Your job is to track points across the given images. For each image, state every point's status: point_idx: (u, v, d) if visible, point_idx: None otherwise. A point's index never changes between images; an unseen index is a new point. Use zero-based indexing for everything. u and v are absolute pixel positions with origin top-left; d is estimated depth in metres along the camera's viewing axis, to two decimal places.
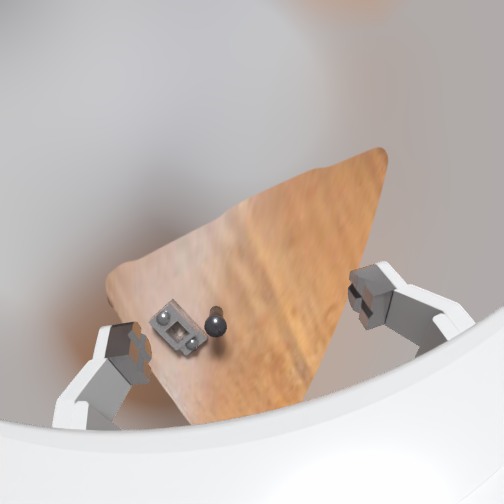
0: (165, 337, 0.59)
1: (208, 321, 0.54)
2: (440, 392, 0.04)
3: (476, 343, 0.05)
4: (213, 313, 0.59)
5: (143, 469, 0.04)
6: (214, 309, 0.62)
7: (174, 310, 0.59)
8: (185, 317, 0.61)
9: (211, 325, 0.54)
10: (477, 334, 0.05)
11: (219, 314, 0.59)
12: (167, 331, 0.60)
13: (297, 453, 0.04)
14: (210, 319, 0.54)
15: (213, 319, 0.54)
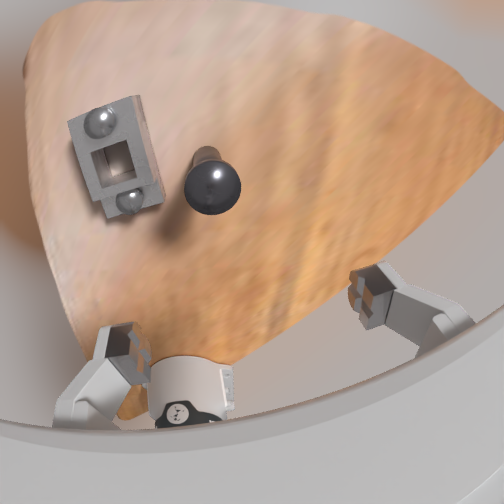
0: (84, 166, 0.23)
1: (204, 168, 0.20)
2: (440, 392, 0.04)
3: (476, 343, 0.05)
4: (212, 157, 0.24)
5: (143, 469, 0.04)
6: (212, 151, 0.27)
7: (132, 114, 0.22)
8: (145, 140, 0.25)
9: (205, 181, 0.21)
10: (477, 334, 0.05)
11: None
12: (94, 155, 0.24)
13: (297, 453, 0.04)
14: (212, 166, 0.20)
15: (218, 169, 0.20)
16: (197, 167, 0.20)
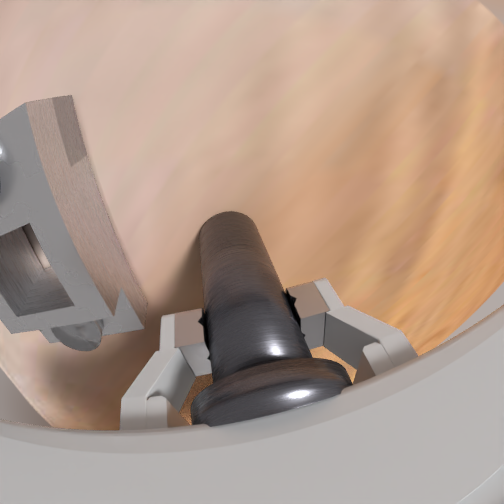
0: None
1: (263, 414, 0.05)
2: (440, 392, 0.04)
3: (476, 343, 0.05)
4: (258, 282, 0.09)
5: (143, 469, 0.04)
6: (247, 238, 0.11)
7: (31, 155, 0.06)
8: (79, 214, 0.09)
9: None
10: (477, 334, 0.05)
11: (288, 302, 0.09)
12: None
13: (297, 453, 0.04)
14: (291, 406, 0.05)
15: None
16: (237, 415, 0.05)
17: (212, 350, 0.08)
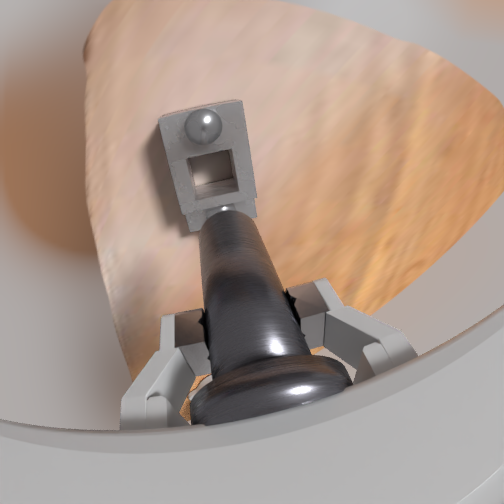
0: (176, 173, 0.23)
1: (262, 411, 0.05)
2: (440, 392, 0.04)
3: (476, 343, 0.05)
4: (257, 280, 0.09)
5: (143, 469, 0.04)
6: (246, 237, 0.12)
7: (241, 121, 0.22)
8: None
9: None
10: (477, 334, 0.05)
11: (287, 300, 0.09)
12: (186, 161, 0.23)
13: (297, 453, 0.04)
14: (290, 403, 0.05)
15: None
16: (236, 412, 0.05)
17: (211, 348, 0.08)
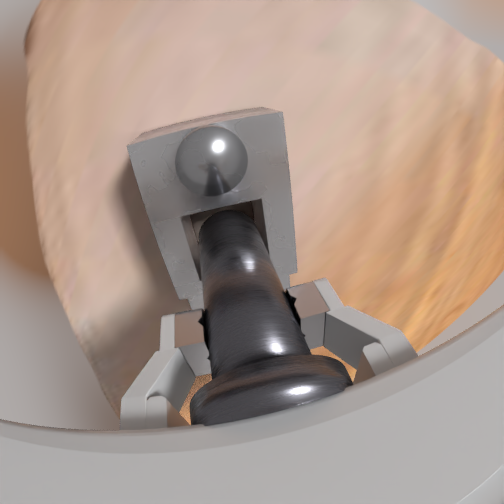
0: (166, 240, 0.14)
1: (262, 411, 0.05)
2: (440, 392, 0.04)
3: (476, 343, 0.05)
4: (257, 279, 0.09)
5: (143, 469, 0.04)
6: (246, 236, 0.11)
7: (280, 150, 0.12)
8: None
9: None
10: (477, 334, 0.05)
11: (287, 299, 0.09)
12: (183, 217, 0.14)
13: (297, 453, 0.04)
14: (290, 403, 0.05)
15: None
16: (236, 412, 0.05)
17: (211, 347, 0.08)
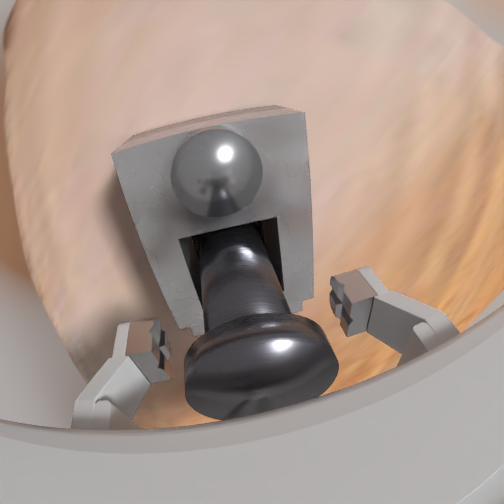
0: (162, 266, 0.11)
1: (245, 359, 0.06)
2: (440, 392, 0.04)
3: (476, 343, 0.05)
4: (248, 256, 0.10)
5: (143, 469, 0.04)
6: None
7: (301, 159, 0.10)
8: None
9: (246, 381, 0.07)
10: (477, 334, 0.05)
11: (276, 276, 0.11)
12: None
13: (297, 453, 0.04)
14: (269, 353, 0.06)
15: (289, 357, 0.06)
16: (221, 359, 0.06)
17: (205, 314, 0.09)
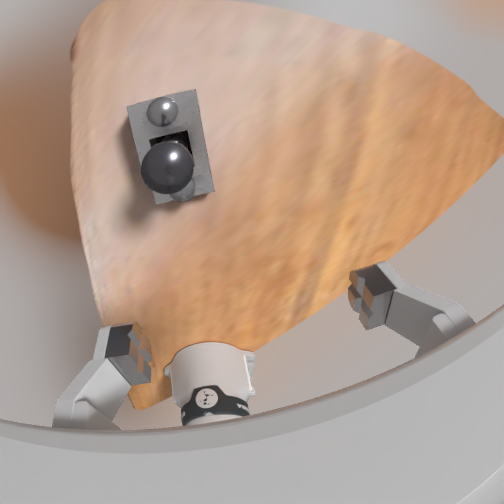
0: (141, 151, 0.26)
1: (158, 149, 0.20)
2: (440, 392, 0.04)
3: (476, 343, 0.05)
4: (173, 141, 0.25)
5: (143, 469, 0.04)
6: (177, 136, 0.27)
7: (195, 106, 0.24)
8: None
9: (160, 161, 0.21)
10: (477, 334, 0.05)
11: None
12: (151, 142, 0.26)
13: (297, 453, 0.04)
14: (165, 147, 0.20)
15: (172, 150, 0.21)
16: (152, 149, 0.20)
17: None
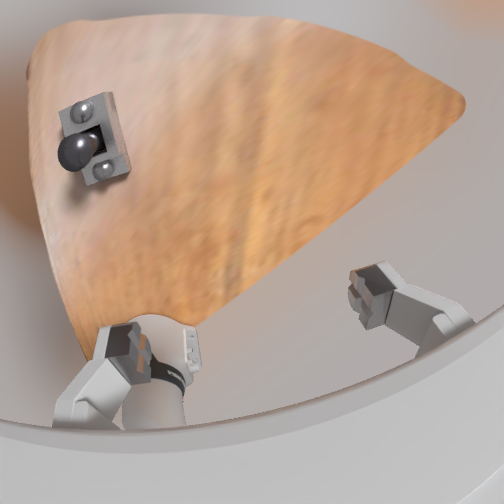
0: None
1: (67, 139, 0.24)
2: (440, 392, 0.04)
3: (476, 343, 0.05)
4: (87, 133, 0.28)
5: (143, 469, 0.04)
6: (96, 130, 0.31)
7: (104, 105, 0.28)
8: (114, 124, 0.31)
9: (68, 148, 0.25)
10: (477, 334, 0.05)
11: (94, 138, 0.29)
12: None
13: (297, 453, 0.04)
14: (71, 137, 0.24)
15: (75, 139, 0.24)
16: (63, 139, 0.24)
17: None
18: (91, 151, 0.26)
